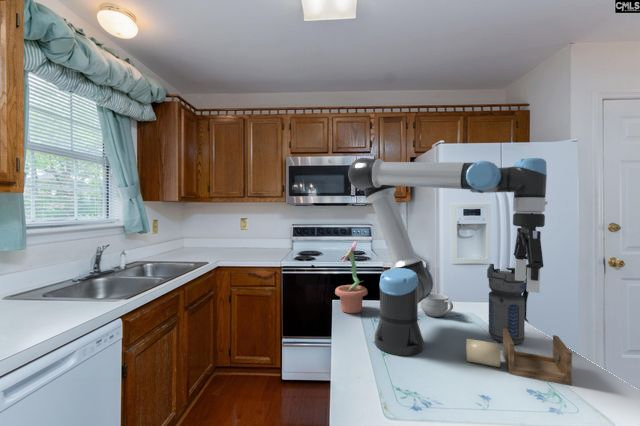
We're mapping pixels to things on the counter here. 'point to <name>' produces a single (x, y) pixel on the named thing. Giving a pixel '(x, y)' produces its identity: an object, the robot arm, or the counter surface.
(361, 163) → the robot arm
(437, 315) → the teacup
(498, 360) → the cylinder
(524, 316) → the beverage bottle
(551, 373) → the holder
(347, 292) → the decorative flower
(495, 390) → the counter surface
